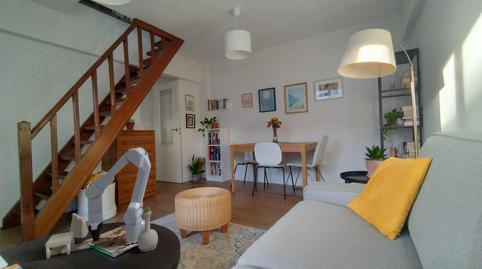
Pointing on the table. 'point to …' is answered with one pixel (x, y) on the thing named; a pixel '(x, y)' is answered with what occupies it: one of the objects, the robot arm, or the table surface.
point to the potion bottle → (147, 234)
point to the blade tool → (77, 246)
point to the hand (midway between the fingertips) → (96, 239)
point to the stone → (78, 226)
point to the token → (55, 251)
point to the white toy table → (60, 242)
